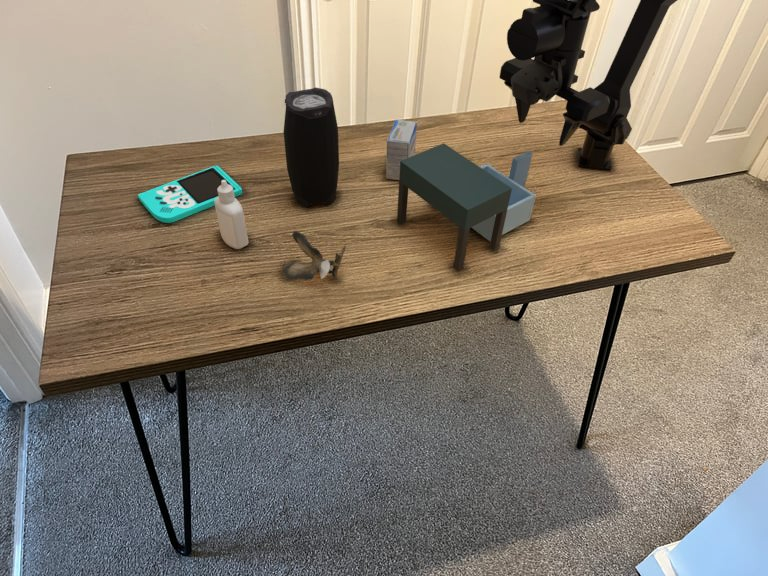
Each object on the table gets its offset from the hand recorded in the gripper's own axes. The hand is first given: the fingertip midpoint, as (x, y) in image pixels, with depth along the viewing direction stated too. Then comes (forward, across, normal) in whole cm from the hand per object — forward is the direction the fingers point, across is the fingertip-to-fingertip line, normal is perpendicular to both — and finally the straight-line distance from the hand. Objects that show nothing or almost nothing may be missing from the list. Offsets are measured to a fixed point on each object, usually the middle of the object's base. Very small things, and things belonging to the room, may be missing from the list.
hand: (541, 133), depth 103 cm
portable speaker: (+13, -23, -33) cm, 42 cm away
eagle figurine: (+13, -6, -44) cm, 46 cm away
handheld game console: (+13, -36, -51) cm, 64 cm away
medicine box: (+13, -20, -14) cm, 28 cm away
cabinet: (+13, 0, -20) cm, 24 cm away
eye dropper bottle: (+13, -20, -50) cm, 56 cm away
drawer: (+13, 0, -9) cm, 15 cm away
